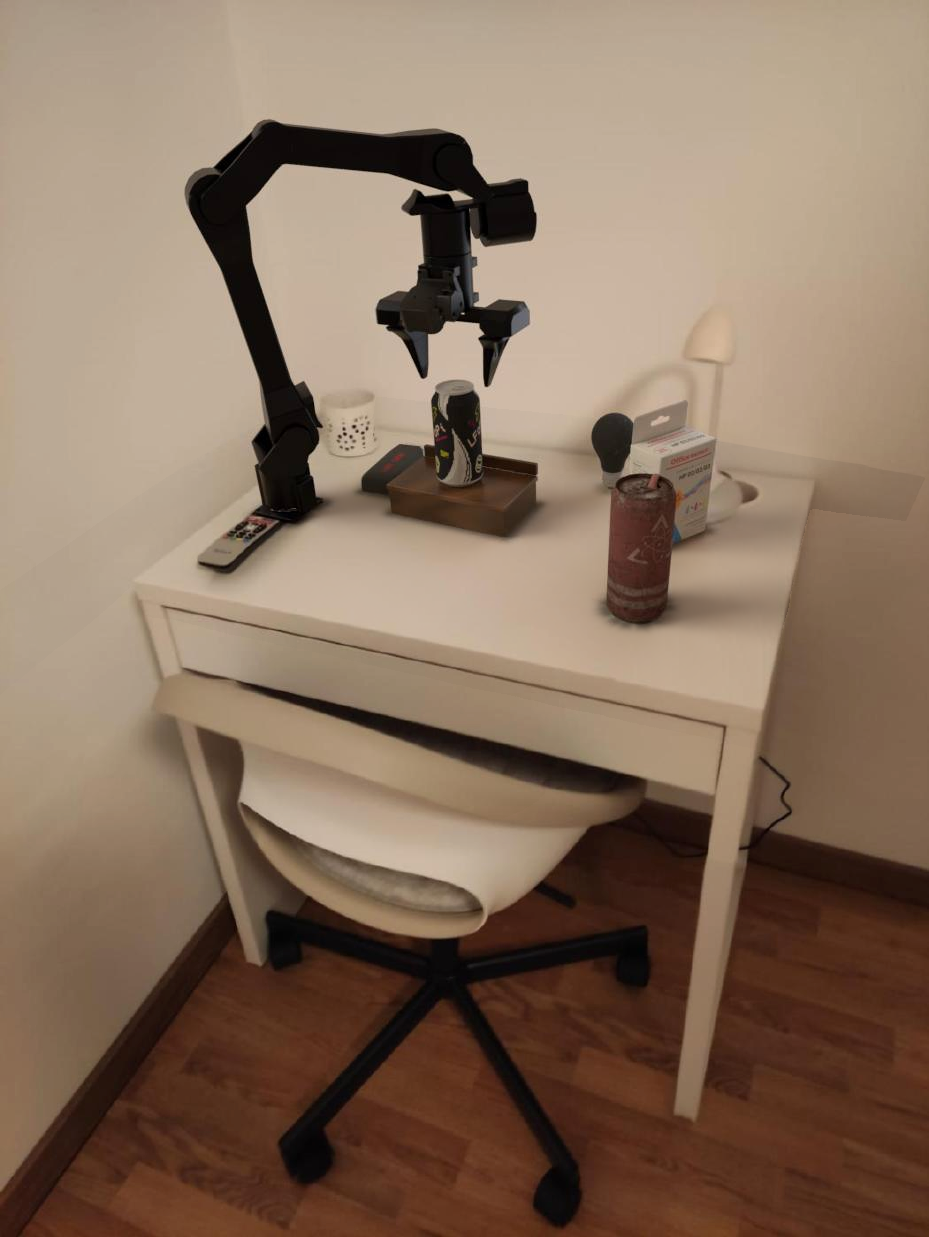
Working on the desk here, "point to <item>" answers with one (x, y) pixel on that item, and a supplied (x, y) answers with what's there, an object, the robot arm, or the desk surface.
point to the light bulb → (612, 445)
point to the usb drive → (391, 467)
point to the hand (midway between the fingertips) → (455, 382)
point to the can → (640, 546)
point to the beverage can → (457, 433)
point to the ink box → (676, 463)
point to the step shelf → (467, 494)
